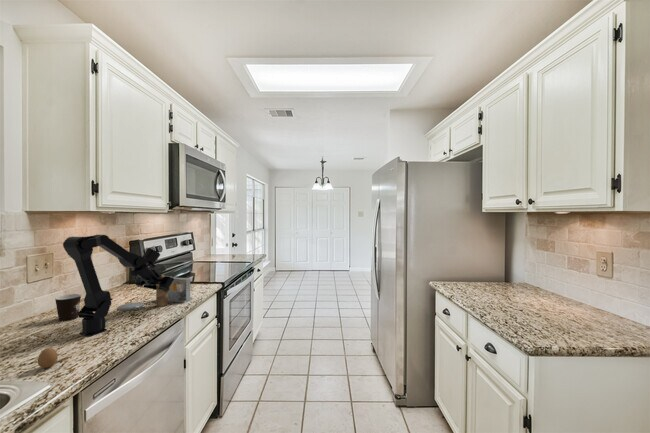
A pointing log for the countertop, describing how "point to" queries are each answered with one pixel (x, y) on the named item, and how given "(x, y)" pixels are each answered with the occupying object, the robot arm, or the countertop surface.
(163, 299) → the pepper mill
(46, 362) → the egg
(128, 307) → the coaster
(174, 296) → the switch panel
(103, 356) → the countertop surface
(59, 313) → the coffee mug
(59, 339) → the countertop surface
